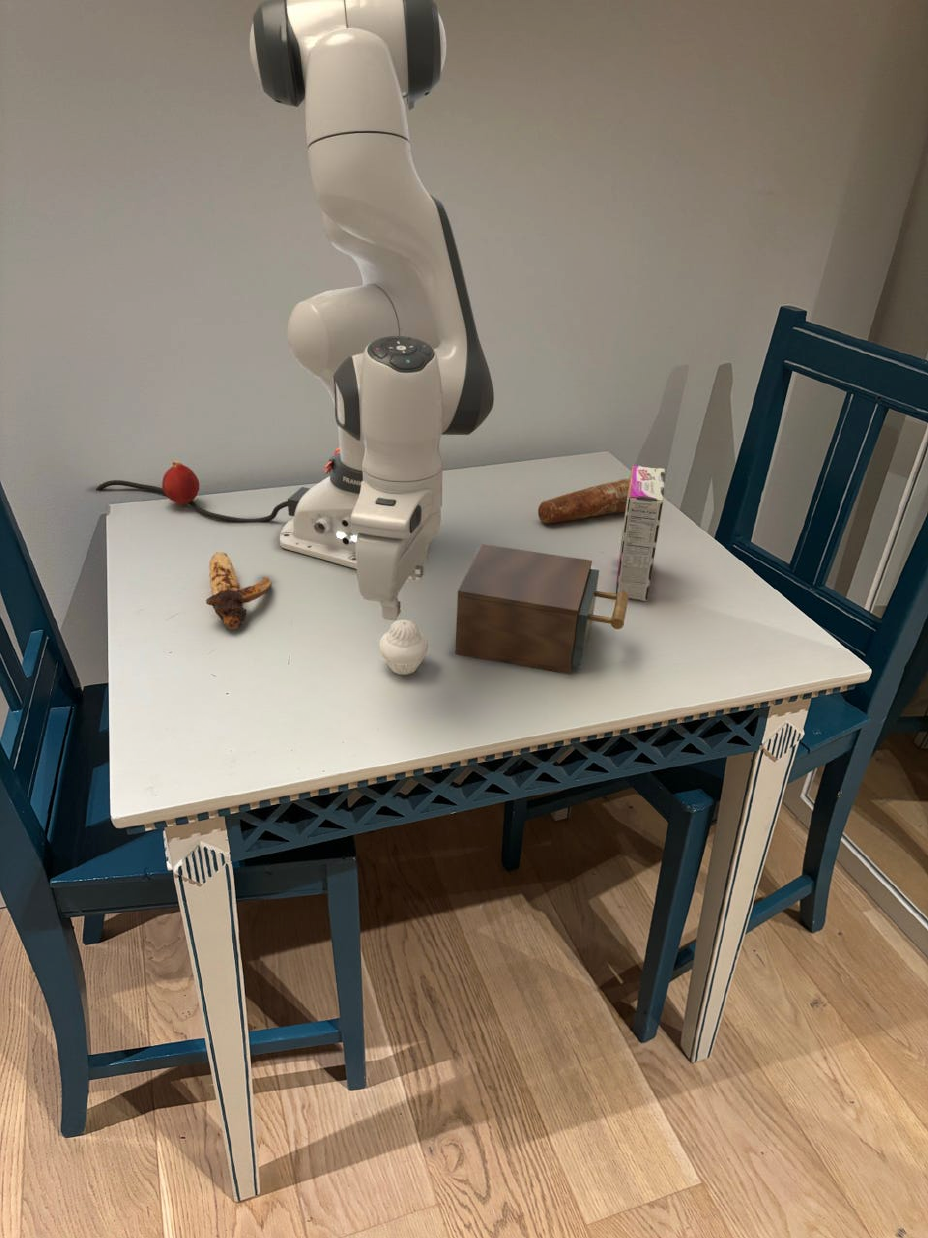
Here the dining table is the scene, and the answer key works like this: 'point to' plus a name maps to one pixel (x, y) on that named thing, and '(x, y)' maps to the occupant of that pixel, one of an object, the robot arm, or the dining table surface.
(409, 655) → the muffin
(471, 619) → the cabinet
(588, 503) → the bread
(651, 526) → the candy bar box
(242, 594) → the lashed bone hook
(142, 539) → the dining table surface
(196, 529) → the dining table surface
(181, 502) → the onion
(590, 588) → the drawer
